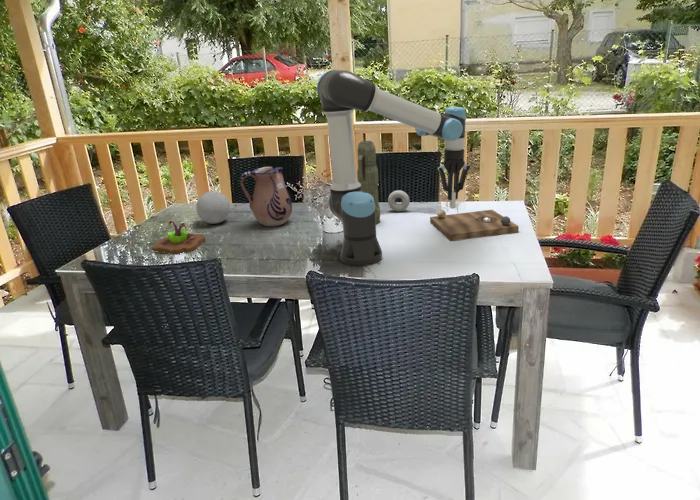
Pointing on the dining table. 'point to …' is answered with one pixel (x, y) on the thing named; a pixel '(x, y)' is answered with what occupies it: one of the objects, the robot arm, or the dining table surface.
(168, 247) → the plant
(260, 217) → the ceramic pitcher
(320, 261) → the dining table surface
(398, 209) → the donut
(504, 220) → the black rubber ball
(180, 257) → the dining table surface
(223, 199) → the decorative ball
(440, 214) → the beech ball
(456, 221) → the walnut plate
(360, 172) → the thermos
